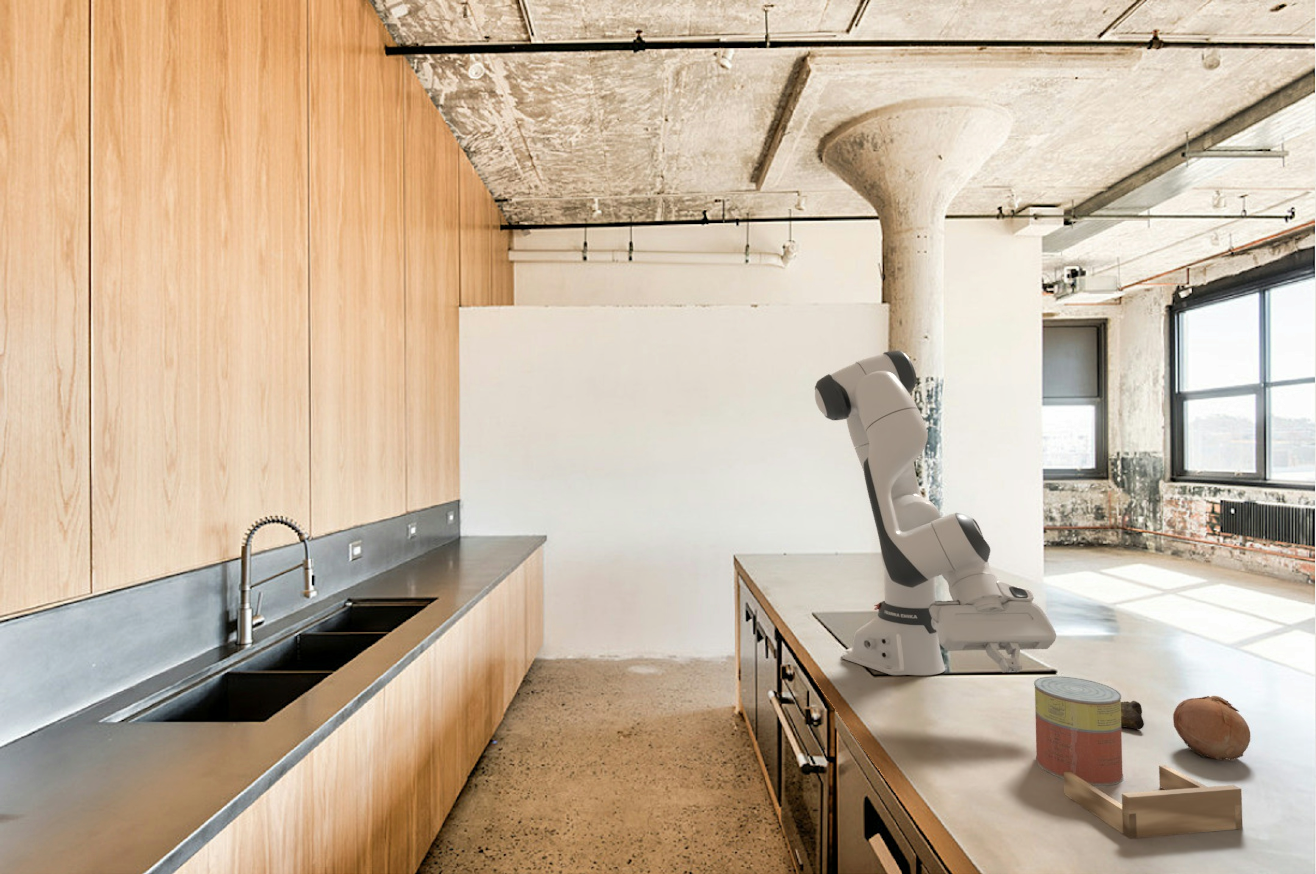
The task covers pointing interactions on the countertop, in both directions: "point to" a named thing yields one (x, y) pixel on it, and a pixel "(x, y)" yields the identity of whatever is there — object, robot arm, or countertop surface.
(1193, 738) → the onion
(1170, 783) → the cradle
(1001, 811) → the countertop surface
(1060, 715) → the canned food
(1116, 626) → the countertop surface
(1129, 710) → the claw
